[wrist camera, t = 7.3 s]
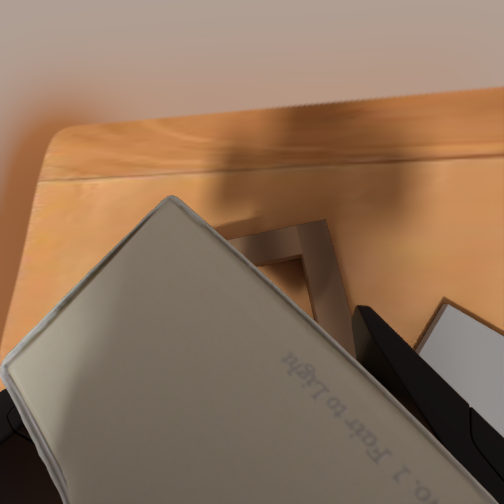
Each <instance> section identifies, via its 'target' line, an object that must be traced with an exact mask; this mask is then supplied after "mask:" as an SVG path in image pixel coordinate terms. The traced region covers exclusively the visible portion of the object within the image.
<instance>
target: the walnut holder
mask: <svg viewBox="0 0 504 504" xmlns="http://www.w3.org/2000/svg"><path fill="white" fill-rule="evenodd" d="M227 241H228V242H229V243H230V244H231V245H232V246H234V247H235V248H236V249H237V250H238V251H239V252H240V253H241V254H243V255H244V256H245V257H246V258H247V259H248V260H249V261H250V262H252V263H253V264H254V265H255V266H256V267H259V266H264V265H270V264H275V263H280V262H285V261H290V260H295V259H301V263H302V268H303V272H304V276H305V281H306V285H307V290H308V294H309V298H310V303H311V307H312V312H313V316H314V320H315V321H316V322H317V323H318V324H319V325H320V326H321V327H322V328H323V329H324V330H325V331H326V332H327V333H328V334H329V335H330V336H331V337H332V338H333V339H335V340H336V341H337V342H338V343H339V344H340V345H341V346H342V347H343V348H344V349H345V350H346V351H347V352H348V353H349V354H350V355H351V356H352V357H353V358H354V359H355V360H357V359H356V353H355V346H354V339H353V333H352V325H351V322H352V317H351V313H350V309H349V306H348V302H347V298H346V294H345V290H344V287H343V283H342V279H341V275H340V272H339V268H338V264H337V260H336V257H335V253H334V249H333V245H332V242H331V238H330V234H329V230H328V226H327V223H326V219H324V220H319V221H314V222H310V223H305V224H300V225H296V226H291V227H286V228H282V229H277V230H272V231H267V232H263V233H258V234H253V235H249V236H244V237H239V238H235V239H230V240H227Z"/></svg>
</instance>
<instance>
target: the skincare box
mask: <svg viewBox="0 0 504 504" xmlns="http://www.w3.org/2000/svg"><path fill="white" fill-rule="evenodd" d="M0 377H1V380H2V382H3V384H4V385H5V387H6V389H7V391H8V392H9V394H10V396H11V398H12V400H13V402H14V404H15V405H16V407H17V409H18V411H19V413H20V415H21V418H22V421H23V423H24V425H25V427H26V428H27V430H28V432H29V434H30V436H31V438H32V440H33V442H34V443H35V445H36V448H37V451H38V454H39V456H40V457H41V459H42V460H43V462H44V463H45V465H46V467H47V470H48V472H49V474H50V477H51V479H52V481H53V482H54V484H55V486H56V488H57V490H58V491H59V493H60V496H61V499H62V502H63V504H499V503H498V502H497V501H496V500H495V499H494V498H493V496H492V495H491V494H490V493H489V492H488V491H487V490H486V489H485V488H484V487H483V486H482V485H481V484H480V483H479V482H478V481H477V480H476V479H475V478H474V477H473V476H472V475H471V474H470V473H469V472H468V471H467V470H466V469H465V468H464V467H463V466H462V465H461V464H460V463H459V462H458V461H457V460H456V459H455V458H454V457H453V456H452V454H451V453H450V452H449V451H448V450H447V449H446V448H445V447H444V446H443V445H442V444H441V443H440V442H439V441H438V440H437V439H436V438H435V437H434V436H433V435H432V434H431V433H430V432H429V431H428V430H427V429H426V428H425V427H424V426H423V425H422V424H421V423H420V422H419V421H418V420H417V419H416V418H415V417H414V416H413V415H412V414H411V413H410V412H409V411H408V410H407V409H406V408H405V407H404V406H403V405H402V404H401V403H400V402H399V401H398V400H397V399H396V398H395V397H394V396H393V395H392V394H391V393H390V392H389V391H388V390H387V389H386V388H385V387H383V386H382V385H381V384H380V383H379V382H378V381H377V380H376V379H375V378H374V377H373V376H372V375H371V374H370V373H369V372H368V371H367V370H366V369H365V368H364V367H363V366H362V365H361V364H360V363H359V362H358V361H357V360H355V359H354V358H353V357H352V356H351V355H350V354H349V353H348V352H347V351H346V350H345V349H344V348H343V347H342V346H341V345H340V344H339V343H338V342H337V341H336V340H335V339H333V338H332V337H331V336H330V335H329V334H328V333H327V332H326V331H325V330H324V329H323V328H322V327H321V326H320V325H319V324H318V323H317V322H316V321H315V320H313V319H312V318H311V317H310V316H309V315H308V314H307V313H306V312H305V311H304V310H303V309H302V308H300V307H299V306H298V305H297V304H296V303H295V302H294V301H293V300H292V299H291V298H290V297H289V296H287V295H286V294H285V293H284V292H283V291H282V290H281V289H280V288H279V287H278V286H277V285H276V284H274V283H273V282H272V281H271V280H270V279H269V278H268V277H267V276H266V275H265V274H264V273H262V272H261V271H260V270H259V269H258V268H257V267H256V266H255V265H254V264H253V263H252V262H250V261H249V260H248V259H247V258H246V257H245V256H244V255H243V254H241V253H240V252H239V251H238V250H237V249H236V248H235V247H234V246H232V245H231V244H230V243H229V242H228V241H227V240H226V239H225V238H224V237H223V236H221V235H220V234H219V233H218V232H217V231H216V230H215V229H214V228H213V227H211V226H210V225H209V224H208V223H207V222H206V221H204V220H203V219H202V218H201V217H200V216H199V215H198V214H196V213H195V212H194V211H193V210H192V209H191V208H190V207H189V206H187V205H186V204H185V203H184V202H183V201H182V200H181V199H179V198H178V197H176V196H174V195H170V196H167V197H166V198H165V199H163V200H162V201H161V202H160V203H159V204H158V205H157V206H156V207H155V208H154V209H153V210H152V211H151V212H149V213H148V214H147V215H146V216H145V217H144V218H143V219H142V220H141V222H140V223H139V224H138V225H137V226H136V227H135V228H134V229H133V230H132V231H131V232H130V233H129V234H128V235H126V236H125V237H124V238H123V239H122V240H121V241H120V242H119V243H118V244H117V245H116V246H115V247H114V248H113V249H112V250H111V251H110V252H109V253H108V254H107V255H106V256H105V257H104V258H103V259H102V260H101V261H100V262H99V263H98V264H97V265H96V266H95V267H94V268H92V269H91V270H90V271H89V272H88V273H87V274H86V276H85V277H84V278H83V279H82V280H81V281H80V282H79V283H78V284H77V285H76V286H75V287H73V288H72V289H71V290H70V291H69V292H68V293H67V294H66V295H65V296H64V297H63V298H62V299H61V300H60V302H59V303H58V304H57V305H56V306H55V307H54V308H53V309H52V310H51V311H50V312H49V313H48V314H47V315H46V316H45V317H44V318H43V319H42V320H41V321H40V322H39V323H38V324H37V325H36V326H35V327H34V328H33V329H32V330H31V331H30V332H29V333H28V334H27V335H26V336H25V337H24V338H23V339H22V340H21V341H20V342H19V343H18V344H17V345H16V346H15V347H14V348H13V349H12V350H11V351H10V352H9V353H8V354H7V356H6V357H5V358H4V360H3V362H2V364H1V367H0Z"/></svg>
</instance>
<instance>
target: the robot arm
mask: <svg viewBox="0 0 504 504" xmlns="http://www.w3.org/2000/svg"><path fill="white" fill-rule="evenodd" d="M351 325H352V333H353V339H354V346H355V353H356V359H357V361H358V362H359V363H360V364H361V365H362V366H363V367H364V368H365V369H366V370H367V371H368V372H369V373H370V374H371V375H372V376H373V377H374V378H375V379H376V380H377V381H378V382H379V383H380V384H381V385H382V386H383V387H385V388H386V389H387V390H388V391H389V392H390V393H391V394H392V395H393V396H394V397H395V398H396V399H397V400H398V401H399V402H400V403H401V404H402V405H403V406H404V407H405V408H406V409H407V410H408V411H409V412H410V413H411V414H412V415H413V416H414V417H415V418H416V419H417V420H418V421H419V422H420V423H421V424H422V425H423V426H424V427H425V428H426V429H427V430H428V431H429V432H430V433H431V434H432V435H433V436H434V437H435V438H436V439H437V440H438V441H439V442H440V443H441V444H442V445H443V446H444V447H445V448H446V449H447V450H448V451H449V452H450V453H451V454H452V456H453V457H454V458H455V459H456V460H457V461H458V462H459V463H460V464H461V465H462V466H463V467H464V468H465V469H466V470H467V471H468V472H469V473H470V474H471V475H472V476H473V477H474V478H475V479H476V480H477V481H478V482H479V483H480V484H481V485H482V486H483V487H484V488H485V489H486V490H487V491H488V492H489V493H490V494H491V495H492V496H493V498H494V499H495V500H496V501H497V502H498V503H499V504H504V437H503V436H502V435H501V434H500V433H499V432H498V431H496V430H495V429H494V428H493V427H492V426H491V425H490V424H489V423H488V422H487V421H486V420H485V419H484V418H483V417H482V416H481V415H480V414H479V413H478V412H477V411H476V410H475V409H474V408H473V407H470V405H469V403H468V402H467V401H466V400H464V399H463V398H462V397H461V396H460V395H459V394H458V393H457V392H456V391H455V390H454V389H453V388H452V387H451V386H450V385H449V384H448V383H447V382H446V381H445V380H444V379H443V378H442V377H441V376H440V375H439V374H438V373H437V372H436V371H435V370H434V369H433V368H432V367H431V366H430V365H429V364H428V363H427V362H426V361H425V360H424V359H423V358H422V357H421V356H420V355H419V354H418V353H417V352H416V351H415V350H414V349H413V348H412V347H411V346H409V345H408V344H407V343H406V342H405V341H404V340H403V339H402V338H401V337H400V336H399V335H398V334H397V333H396V332H395V331H394V330H393V329H392V328H391V327H390V326H389V325H388V324H387V323H386V322H385V321H384V320H383V319H382V318H381V317H380V316H379V315H378V314H377V313H376V312H375V311H374V310H373V309H372V308H371V307H369V306H364V305H357V306H356V308H355V311H354V314H353V317H352V322H351ZM0 504H63V502H62V499H61V496H60V493H59V491H58V490H57V488H56V486H55V484H54V482H53V481H52V479H51V477H50V474H49V472H48V470H47V467H46V465H45V463H44V462H43V460H42V459H41V457H40V456H39V454H38V451H37V448H36V445H35V443H34V442H33V440H32V438H31V436H30V434H29V432H28V430H27V428H26V427H25V425H24V423H23V421H22V418H21V415H20V413H19V411H18V409H17V407H16V405H15V404H14V402H13V400H12V398H11V396H10V394H9V392H8V391H7V389H4V390H2V391H1V392H0Z"/></svg>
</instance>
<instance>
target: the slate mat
mask: <svg viewBox="0 0 504 504" xmlns="http://www.w3.org/2000/svg"><path fill="white" fill-rule="evenodd" d="M415 351H416V352H417V353H418V354H419V355H420V356H421V357H422V358H423V359H424V360H425V361H426V362H427V363H428V364H429V365H430V366H431V367H432V368H433V369H434V370H435V371H436V372H437V373H438V374H439V375H440V376H441V377H442V378H443V379H444V380H445V381H446V382H447V383H448V384H449V385H450V386H451V387H452V388H453V389H454V390H455V391H456V392H457V393H458V394H459V395H460V396H461V397H462V398H463V399H464V400H466V401H467V402H468V403H469V405H470V407H473V408H474V409H475V410H476V411H477V412H478V413H479V414H480V415H481V416H482V417H483V418H484V419H485V420H486V421H487V422H488V423H489V424H490V425H491V426H492V427H493V428H494V429H495V430H496V431H498V432H499V433H500V434H501V435H502V436H503V437H504V336H502V335H500V334H499V333H497V332H495V331H493V330H492V329H490V328H488V327H487V326H485V325H483V324H481V323H480V322H478V321H476V320H475V319H473V318H471V317H469V316H468V315H466V314H464V313H462V312H461V311H459V310H457V309H456V308H454V307H452V306H450V305H449V304H443V305H442V307H441V308H440V310H439V312H438V313H437V315H436V317H435V318H434V320H433V322H432V323H431V325H430V327H429V328H428V330H427V332H426V334H425V335H424V337H423V339H422V340H421V342H420V344H419V345H418V347H417V349H416V350H415Z"/></svg>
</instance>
